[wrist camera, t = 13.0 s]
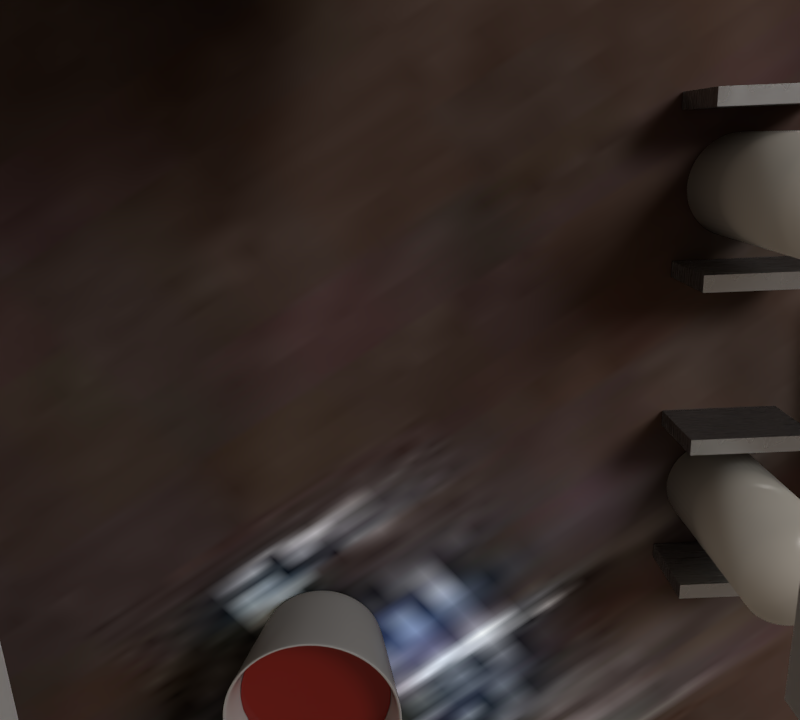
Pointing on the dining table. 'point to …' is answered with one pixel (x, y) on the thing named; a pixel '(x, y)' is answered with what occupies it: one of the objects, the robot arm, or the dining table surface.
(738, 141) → the cream jar
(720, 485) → the cream rounded capsule
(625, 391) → the dining table surface
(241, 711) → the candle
